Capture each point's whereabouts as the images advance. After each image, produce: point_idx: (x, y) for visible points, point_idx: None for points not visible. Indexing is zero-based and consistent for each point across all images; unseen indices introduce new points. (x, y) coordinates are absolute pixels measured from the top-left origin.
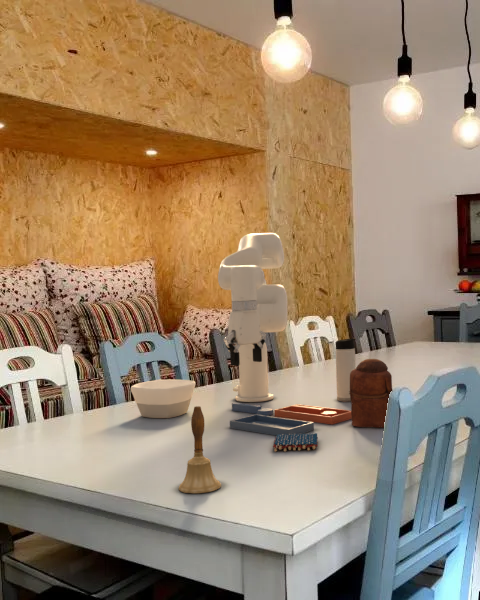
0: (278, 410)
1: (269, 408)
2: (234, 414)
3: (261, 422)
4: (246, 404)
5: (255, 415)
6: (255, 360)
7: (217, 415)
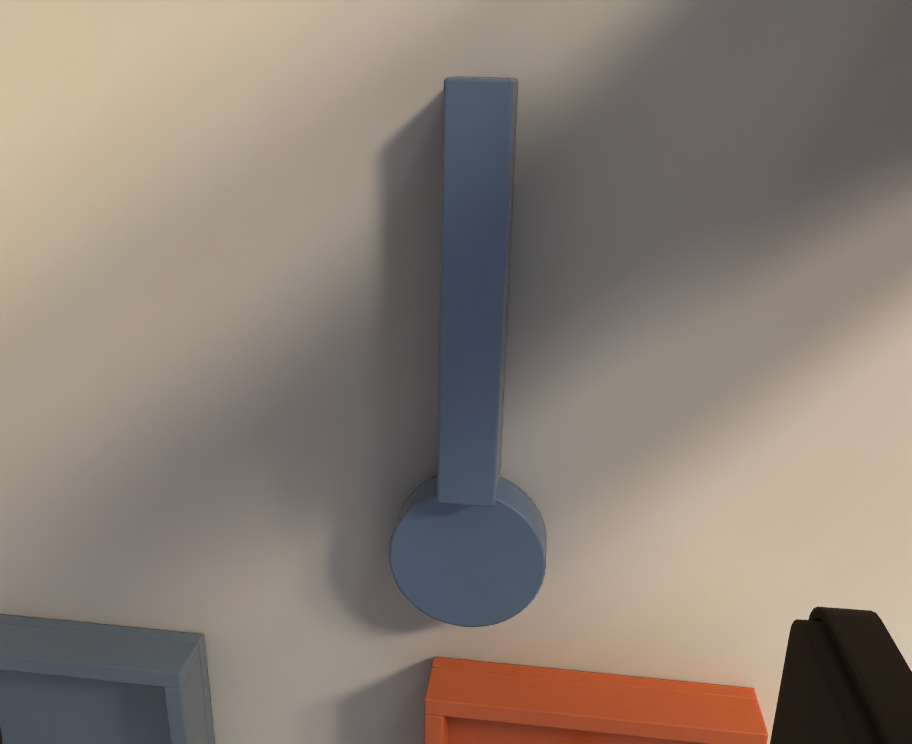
0: (424, 740)
1: (534, 564)
2: (310, 266)
3: (153, 733)
4: (475, 311)
5: (161, 684)
6: (785, 711)
7: (171, 135)
